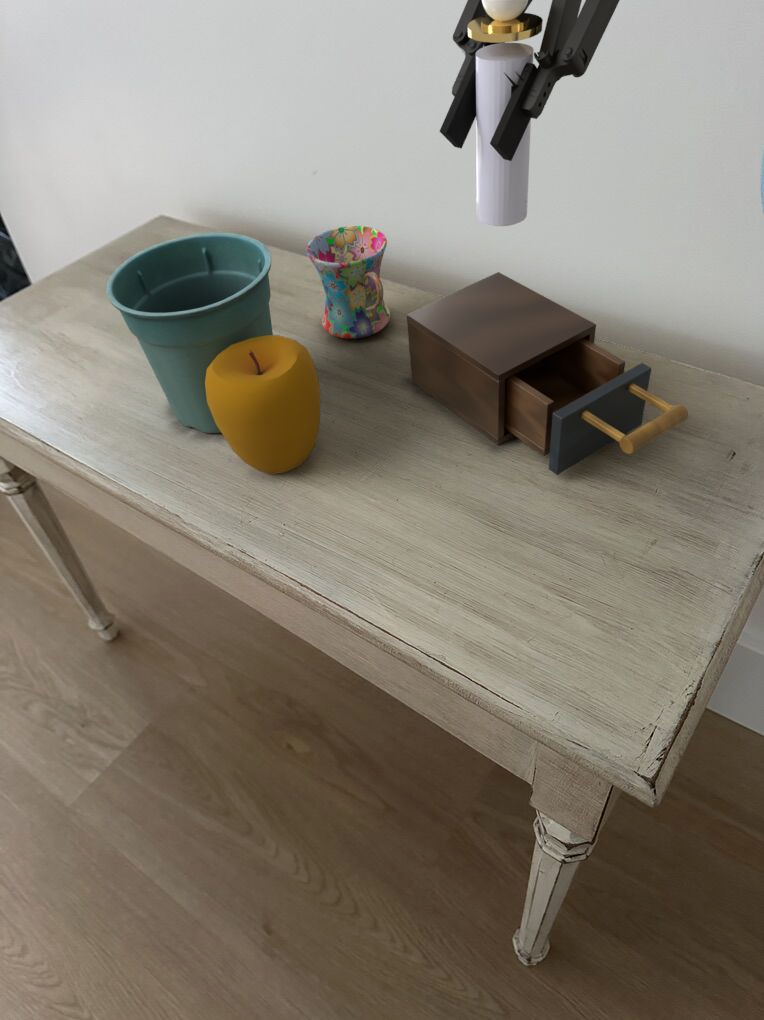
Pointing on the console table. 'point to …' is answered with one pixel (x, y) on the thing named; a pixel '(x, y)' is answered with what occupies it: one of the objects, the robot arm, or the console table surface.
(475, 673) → the console table surface
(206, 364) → the flower pot
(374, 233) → the mug
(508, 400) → the drawer
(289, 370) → the apple
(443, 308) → the cabinet
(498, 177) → the perfume bottle
